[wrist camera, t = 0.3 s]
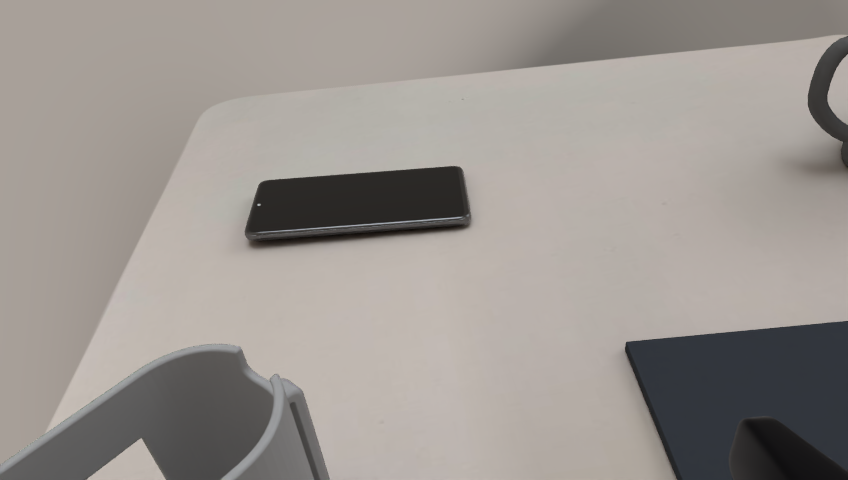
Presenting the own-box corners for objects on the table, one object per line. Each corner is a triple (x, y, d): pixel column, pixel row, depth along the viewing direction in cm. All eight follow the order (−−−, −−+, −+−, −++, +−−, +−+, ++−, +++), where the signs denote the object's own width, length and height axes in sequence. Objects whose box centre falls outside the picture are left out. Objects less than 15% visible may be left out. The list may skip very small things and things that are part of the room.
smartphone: (472, 217, 44) (241, 235, 45) (472, 230, 45) (245, 247, 45) (462, 163, 50) (258, 178, 50) (462, 175, 51) (261, 190, 51)
